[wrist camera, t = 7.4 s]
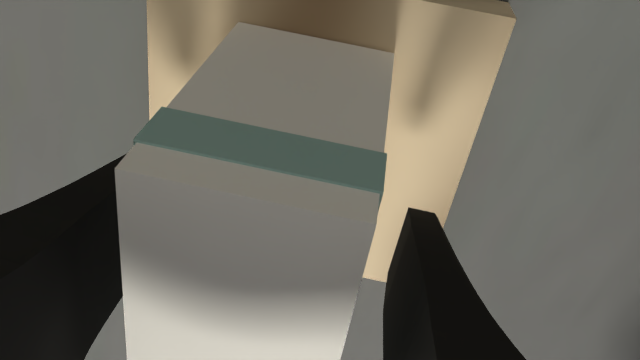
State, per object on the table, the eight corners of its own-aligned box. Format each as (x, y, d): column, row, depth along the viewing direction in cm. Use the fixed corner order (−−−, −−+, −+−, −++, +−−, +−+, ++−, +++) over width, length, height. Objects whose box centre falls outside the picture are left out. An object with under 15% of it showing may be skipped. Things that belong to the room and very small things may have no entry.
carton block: (396, 51, 14) (380, 222, 8) (351, 237, 18) (318, 449, 12) (236, 19, 14) (110, 165, 8) (223, 209, 18) (127, 405, 12)
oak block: (504, -5, 15) (516, 18, 13) (420, 249, 20) (421, 289, 18) (174, -68, 15) (145, -54, 14) (173, 198, 20) (152, 233, 19)
